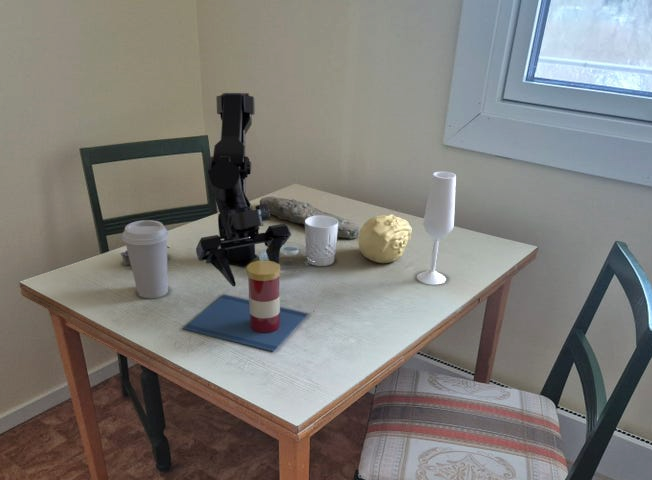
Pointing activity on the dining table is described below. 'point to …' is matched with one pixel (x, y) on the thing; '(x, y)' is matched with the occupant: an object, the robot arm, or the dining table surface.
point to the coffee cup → (148, 256)
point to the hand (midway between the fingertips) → (256, 281)
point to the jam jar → (264, 296)
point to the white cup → (321, 239)
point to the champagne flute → (439, 219)
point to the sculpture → (384, 238)
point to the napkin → (242, 323)
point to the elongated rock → (306, 214)
